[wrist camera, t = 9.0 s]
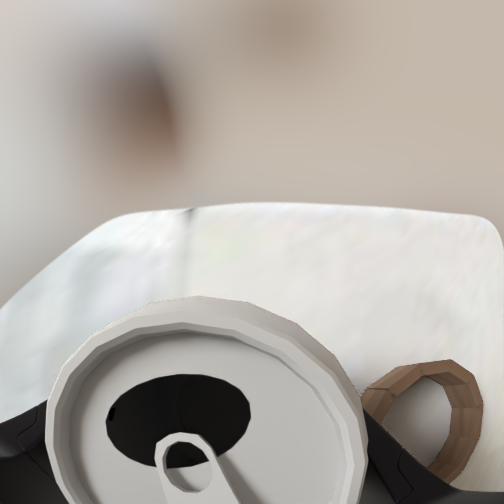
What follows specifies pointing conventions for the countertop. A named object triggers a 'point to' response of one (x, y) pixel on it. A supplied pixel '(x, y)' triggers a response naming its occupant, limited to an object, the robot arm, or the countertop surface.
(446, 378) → the collar
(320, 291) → the countertop surface
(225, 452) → the can
